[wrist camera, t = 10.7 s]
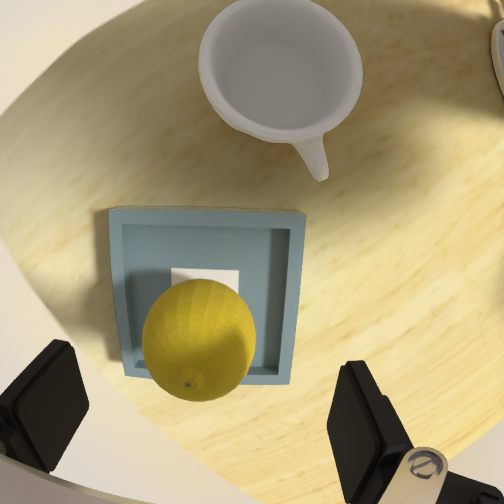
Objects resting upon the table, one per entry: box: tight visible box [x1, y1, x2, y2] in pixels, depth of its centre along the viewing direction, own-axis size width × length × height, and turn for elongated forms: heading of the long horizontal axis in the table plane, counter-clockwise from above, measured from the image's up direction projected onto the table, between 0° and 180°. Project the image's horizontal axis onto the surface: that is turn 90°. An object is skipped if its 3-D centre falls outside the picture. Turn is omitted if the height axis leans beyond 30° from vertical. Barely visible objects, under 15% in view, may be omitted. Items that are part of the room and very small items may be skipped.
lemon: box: [142, 278, 256, 402], centre depth 15 cm, size 6×6×8 cm
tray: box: [108, 206, 306, 385], centre depth 19 cm, size 11×11×2 cm
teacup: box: [198, 0, 363, 181], centre depth 15 cm, size 10×8×5 cm
